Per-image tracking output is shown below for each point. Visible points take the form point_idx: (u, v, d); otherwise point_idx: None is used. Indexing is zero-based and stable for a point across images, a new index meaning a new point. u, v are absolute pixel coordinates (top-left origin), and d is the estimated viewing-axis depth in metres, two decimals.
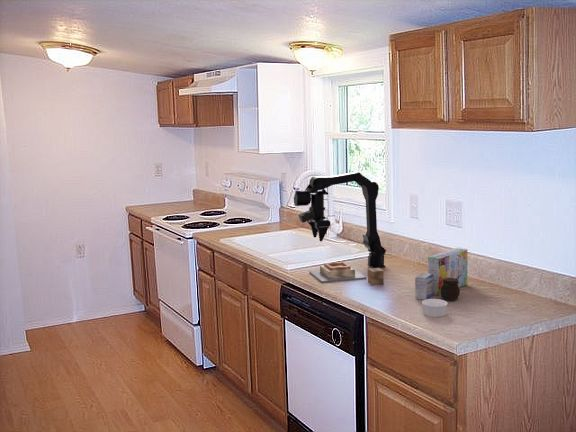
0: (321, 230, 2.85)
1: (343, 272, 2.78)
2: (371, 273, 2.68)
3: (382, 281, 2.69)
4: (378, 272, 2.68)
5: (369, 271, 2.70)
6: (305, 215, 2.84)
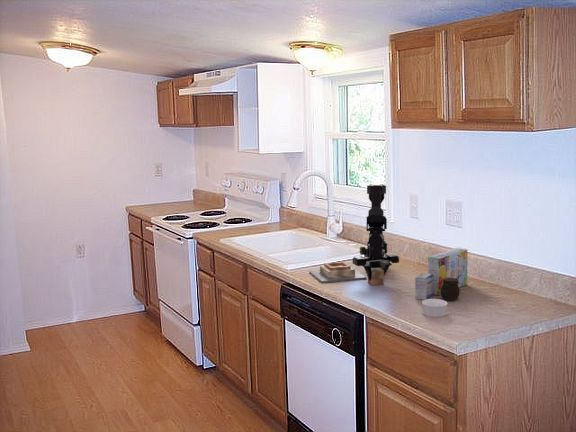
0: (367, 268, 2.69)
1: (343, 272, 2.78)
2: (371, 273, 2.68)
3: (382, 281, 2.69)
4: (378, 272, 2.68)
5: None
6: (360, 249, 2.74)
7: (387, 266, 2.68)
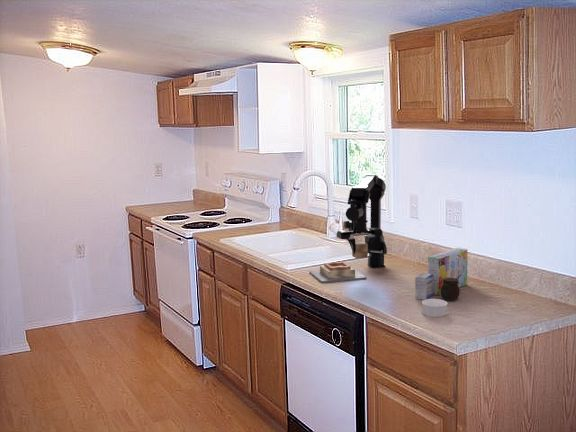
0: (351, 242, 2.73)
1: (343, 272, 2.78)
2: (355, 246, 2.72)
3: (366, 254, 2.73)
4: (362, 245, 2.72)
5: None
6: (344, 223, 2.78)
7: (371, 239, 2.72)
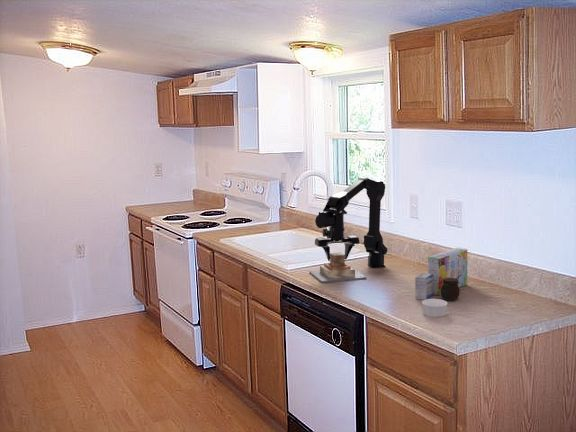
0: (326, 249, 2.81)
1: (343, 272, 2.78)
2: (332, 257, 2.81)
3: (343, 265, 2.82)
4: (339, 256, 2.81)
5: (331, 255, 2.83)
6: None
7: (350, 247, 2.81)
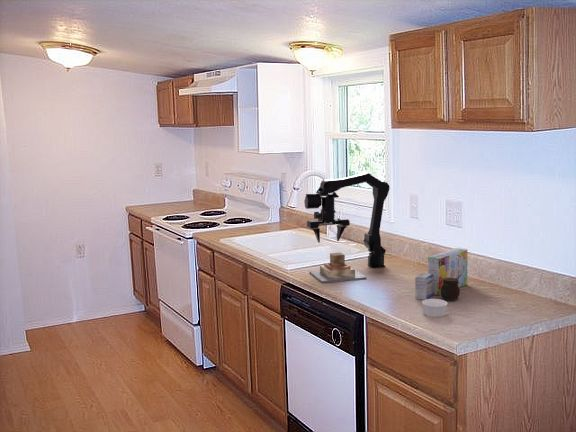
0: (316, 231, 2.91)
1: (343, 272, 2.78)
2: (332, 257, 2.81)
3: (343, 265, 2.82)
4: (339, 256, 2.81)
5: (331, 255, 2.83)
6: (314, 214, 2.97)
7: (342, 228, 2.92)
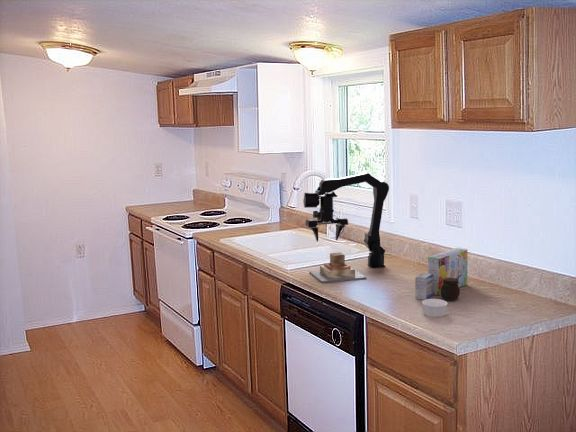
0: (314, 230, 2.94)
1: (343, 272, 2.78)
2: (332, 257, 2.81)
3: (343, 265, 2.82)
4: (339, 256, 2.81)
5: (331, 255, 2.83)
6: (313, 213, 2.99)
7: (341, 227, 2.94)
